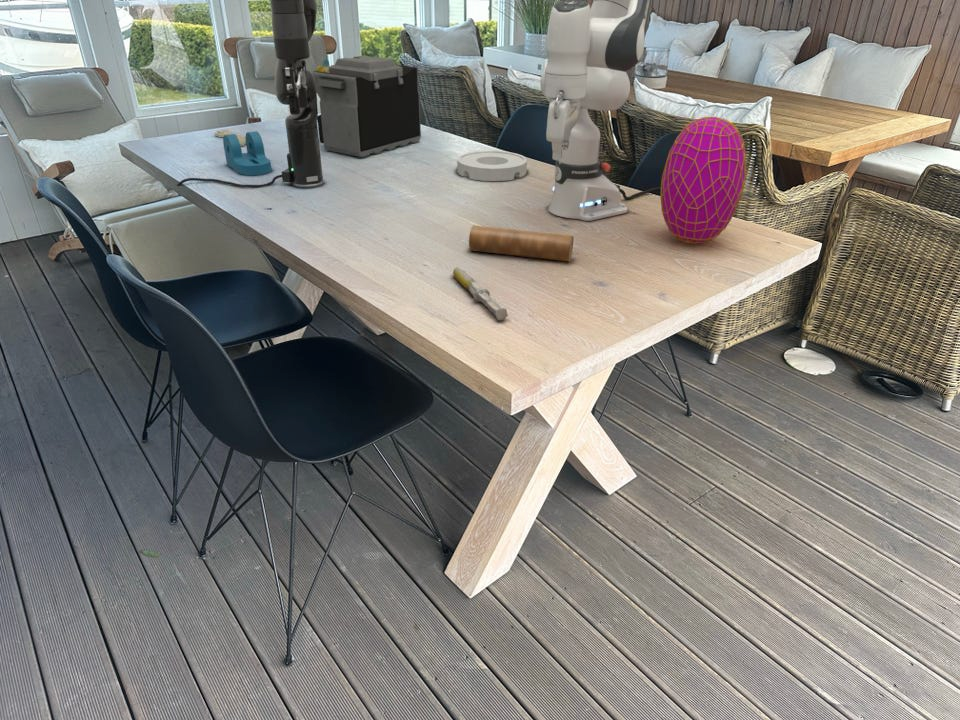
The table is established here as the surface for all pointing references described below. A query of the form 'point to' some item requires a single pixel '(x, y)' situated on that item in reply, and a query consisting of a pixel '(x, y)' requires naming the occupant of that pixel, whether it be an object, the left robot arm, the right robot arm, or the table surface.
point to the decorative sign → (226, 132)
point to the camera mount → (246, 154)
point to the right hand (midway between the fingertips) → (560, 154)
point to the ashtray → (492, 165)
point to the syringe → (479, 293)
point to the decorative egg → (703, 179)
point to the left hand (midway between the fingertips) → (299, 110)
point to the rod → (521, 243)
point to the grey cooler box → (368, 105)
